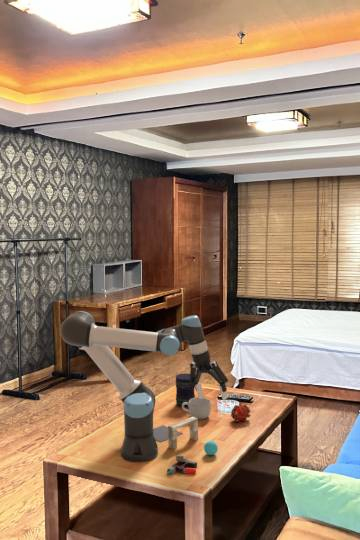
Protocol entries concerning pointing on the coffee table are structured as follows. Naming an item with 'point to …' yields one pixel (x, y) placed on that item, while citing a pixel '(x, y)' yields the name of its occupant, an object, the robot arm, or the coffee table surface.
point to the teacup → (198, 407)
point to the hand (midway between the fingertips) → (213, 398)
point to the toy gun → (183, 466)
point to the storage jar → (184, 390)
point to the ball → (210, 448)
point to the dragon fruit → (240, 412)
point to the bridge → (173, 428)
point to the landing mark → (162, 433)
